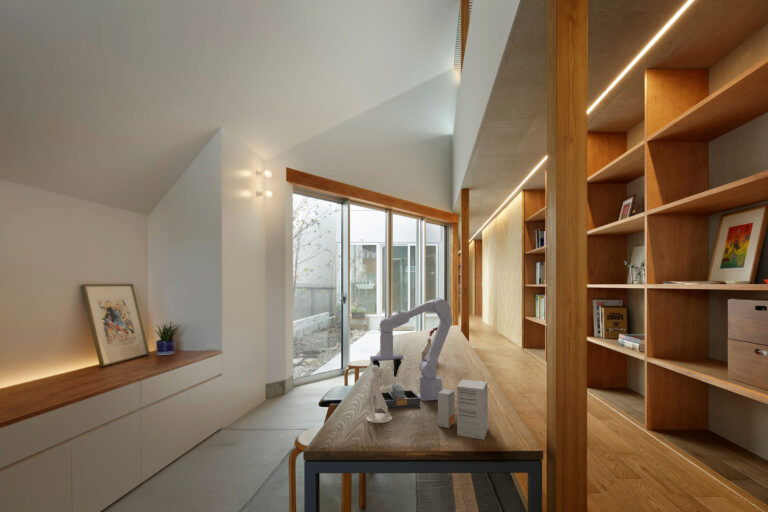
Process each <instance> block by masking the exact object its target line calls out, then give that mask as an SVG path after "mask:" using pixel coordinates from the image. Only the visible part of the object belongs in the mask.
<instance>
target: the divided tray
mask: <svg viewBox="0 0 768 512" xmlns="http://www.w3.org/2000/svg"><path fill="white" fill-rule="evenodd" d="M381 393H382V395H383V398H384V400H385V403H386V405H387V407H388V411H389V410H397V409H398V410H399V409H407V408H417V407H421V399H420V397H419V396H418V395H417V394H418V393H415V392H414V390H412V389H407V390H404V398H402V399H395V398H394V397H393V395H392V391H385V392H382V391H381Z"/></svg>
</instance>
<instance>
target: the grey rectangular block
mask: <svg viewBox="0 0 768 512" xmlns="http://www.w3.org/2000/svg"><path fill="white" fill-rule="evenodd" d="M391 385H392V388H391V389H392V391H391V392H392V395H393V397H394V398H395V399H402V398H404V391H405V389H404V388H403V387H402V385H400V384H398V383H397V384H391Z"/></svg>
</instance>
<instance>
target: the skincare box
mask: <svg viewBox="0 0 768 512" xmlns="http://www.w3.org/2000/svg"><path fill="white" fill-rule="evenodd" d="M455 398H456V397H455V390H453V389H449V388H443V389H442V390H441V391H440V392H439V393H438V400H437V425H438V427H443V428H446V429H449V428H450V427H452V426H453V425H454V424H455V423H456V422H455V420H456V419H455V418H456V417H455V414H456V413H455V410H456V407H455V400H456V399H455Z"/></svg>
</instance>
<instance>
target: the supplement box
mask: <svg viewBox="0 0 768 512" xmlns="http://www.w3.org/2000/svg"><path fill="white" fill-rule="evenodd" d="M488 390H489V389H488V382H487V381H484V380H483V381H480V380H471V379H461V381H460V382H459V383H458V384H457V385H456V417H457V418H456V423H457V424H456V426H457V428H456V429H457V431H456V434H457V437H458V436H460V437H463V438H464V437H465V438H472V439H479V440H485V438H486V437H487V433H488V430H489V414H488V413H489V411H488V407H489V406H488V405H489V403H488V402H489V401H488V398H489V397H488V396H489V395H488V393H489V392H488Z"/></svg>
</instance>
